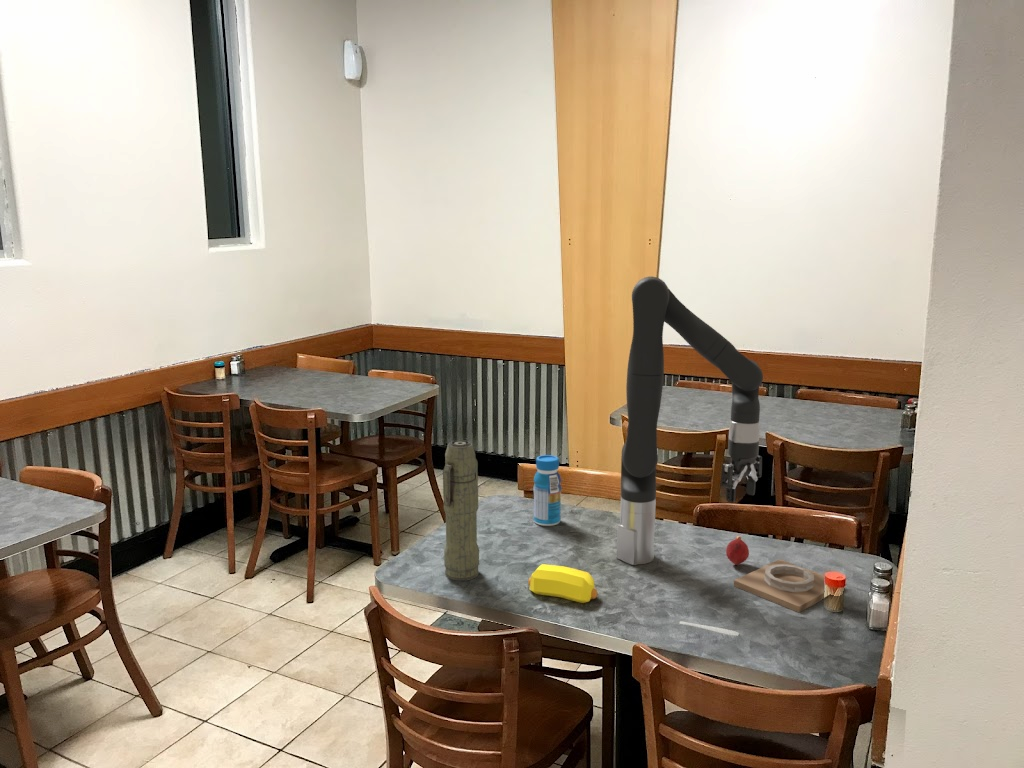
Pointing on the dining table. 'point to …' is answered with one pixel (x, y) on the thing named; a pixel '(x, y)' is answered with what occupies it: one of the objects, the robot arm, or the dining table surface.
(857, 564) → the dining table surface
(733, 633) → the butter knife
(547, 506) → the beverage bottle
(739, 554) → the onion
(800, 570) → the mount board
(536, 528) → the dining table surface
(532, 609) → the dining table surface
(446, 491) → the thermos
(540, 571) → the low-poly banana
